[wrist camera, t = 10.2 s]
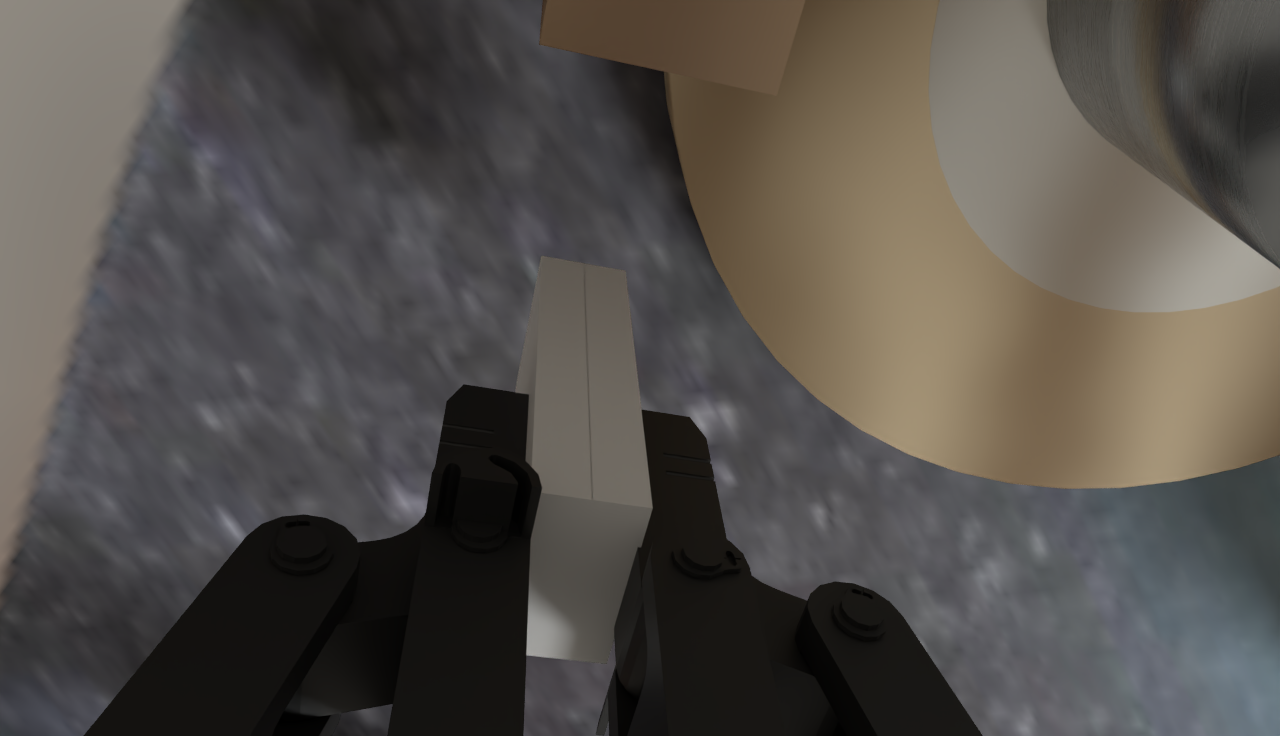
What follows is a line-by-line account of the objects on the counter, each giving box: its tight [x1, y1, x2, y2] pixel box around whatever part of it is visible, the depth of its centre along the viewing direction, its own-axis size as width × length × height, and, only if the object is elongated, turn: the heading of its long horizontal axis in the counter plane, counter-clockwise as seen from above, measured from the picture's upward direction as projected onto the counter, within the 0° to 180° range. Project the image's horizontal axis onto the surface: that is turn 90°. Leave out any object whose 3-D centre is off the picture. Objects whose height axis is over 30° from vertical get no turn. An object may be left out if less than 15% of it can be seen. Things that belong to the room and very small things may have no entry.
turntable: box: [539, 0, 1280, 489], centre depth 16 cm, size 22×20×7 cm
